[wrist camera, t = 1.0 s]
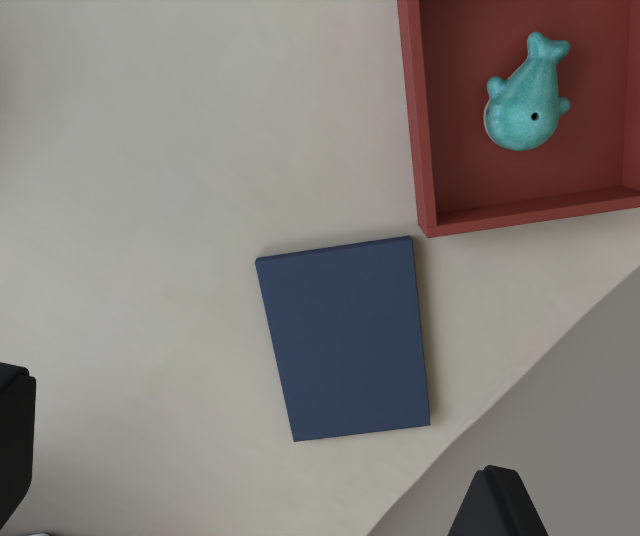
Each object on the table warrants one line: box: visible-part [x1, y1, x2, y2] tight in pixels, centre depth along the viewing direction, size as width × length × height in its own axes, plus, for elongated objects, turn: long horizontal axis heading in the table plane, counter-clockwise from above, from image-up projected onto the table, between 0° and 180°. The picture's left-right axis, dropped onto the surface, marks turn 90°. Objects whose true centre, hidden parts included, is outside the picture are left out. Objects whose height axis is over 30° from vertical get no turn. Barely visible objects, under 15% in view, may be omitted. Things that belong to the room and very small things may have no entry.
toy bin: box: [397, 0, 640, 238], centre depth 33 cm, size 17×16×4 cm
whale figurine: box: [483, 31, 570, 151], centre depth 32 cm, size 6×7×4 cm
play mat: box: [255, 236, 431, 442], centre depth 41 cm, size 17×12×1 cm
